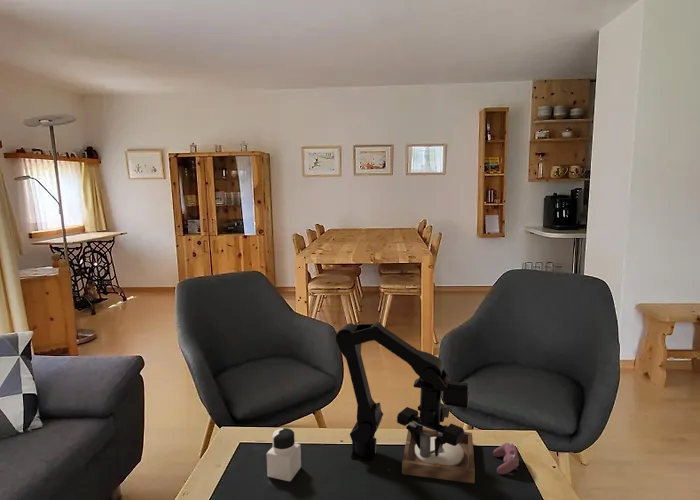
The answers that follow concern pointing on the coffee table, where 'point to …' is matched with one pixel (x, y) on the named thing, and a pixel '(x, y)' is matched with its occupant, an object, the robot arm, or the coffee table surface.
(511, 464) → the video game controller
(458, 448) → the dial
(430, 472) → the dial frame
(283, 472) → the medicine bottle
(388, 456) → the coffee table surface
